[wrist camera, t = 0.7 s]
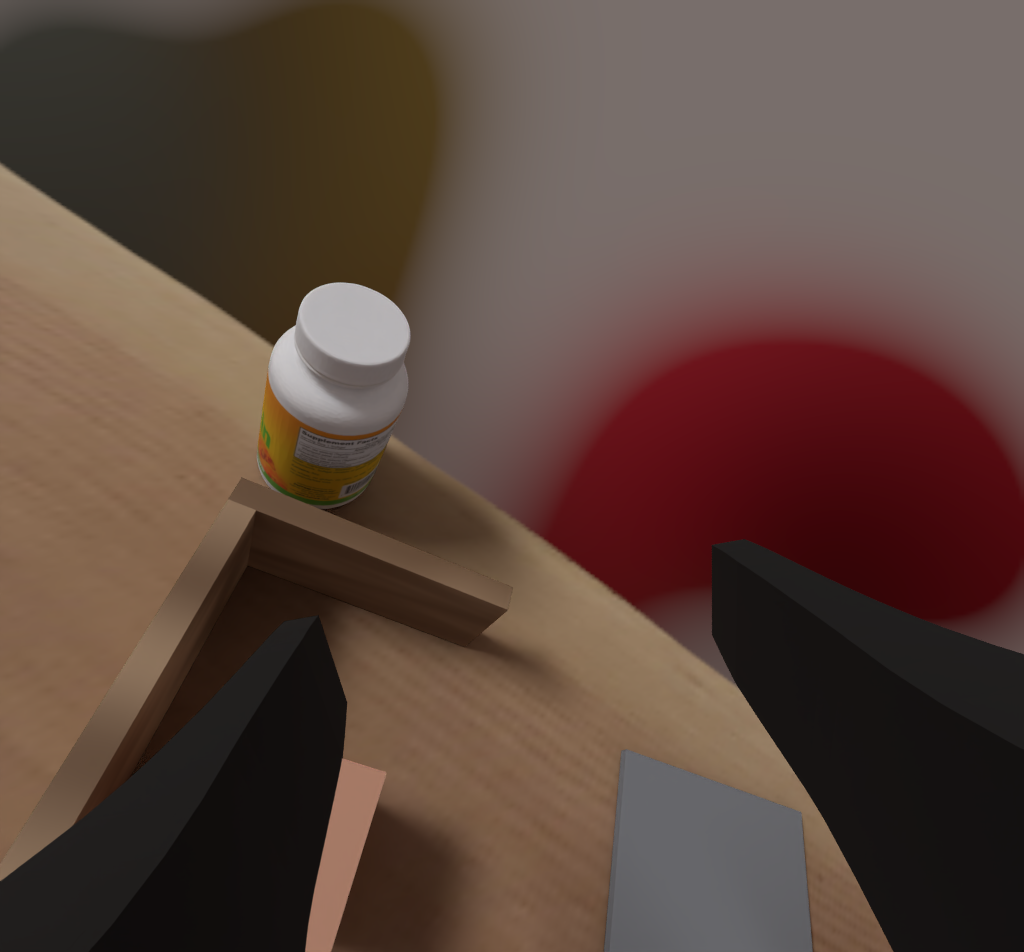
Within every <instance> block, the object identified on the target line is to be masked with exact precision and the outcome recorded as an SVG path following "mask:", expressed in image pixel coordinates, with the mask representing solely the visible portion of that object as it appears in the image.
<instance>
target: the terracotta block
mask: <svg viewBox="0 0 1024 952" xmlns="http://www.w3.org/2000/svg"><path fill="white" fill-rule="evenodd" d="M386 773H387V772H384V771H381V770H377V769H374V768H371V767H368V766H365V765H362V764H359V763H356V762H352V761H349V760H346V759H343V758H342V763H341V768H340V773H339V778H338V783H337V788H336V792H335V797H334V802H333V807H332V811H331V816H330V820H329V825H328V830H327V834H326V839H325V844H324V848H323V853H322V857H321V862H320V867H319V871H318V876H317V881H316V885H315V890H314V895H313V901H312V907H311V912H310V918H309V924H308V932H307V940H306V949H305V951H306V952H331V950H332V947H333V944H334V941H335V938H336V934H337V931H338V928H339V925H340V921H341V918H342V915H343V912H344V909H345V905H346V902H347V899H348V896H349V892H350V889H351V886H352V883H353V880H354V876H355V873H356V870H357V867H358V863H359V860H360V857H361V854H362V851H363V847H364V844H365V841H366V838H367V835H368V831H369V828H370V825H371V822H372V818H373V815H374V812H375V809H376V806H377V802H378V799H379V796H380V793H381V789H382V786H383V783H384V780H385V777H386Z"/></svg>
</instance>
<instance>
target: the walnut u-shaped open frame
mask: <svg viewBox="0 0 1024 952" xmlns="http://www.w3.org/2000/svg"><path fill="white" fill-rule="evenodd" d="M247 565H248V566H250V567H253V568H256V569H258V570H261V571H264V572H266V573H269V574H272V575H274V576H277V577H280V578H282V579H285V580H288V581H290V582H293V583H296V584H298V585H301V586H304V587H306V588H309V589H312V590H314V591H317V592H320V593H322V594H325V595H328V596H330V597H333V598H336V599H338V600H341V601H344V602H346V603H349V604H352V605H354V606H357V607H360V608H362V609H365V610H368V611H370V612H373V613H375V614H378V615H381V616H383V617H386V618H389V619H391V620H394V621H397V622H399V623H402V624H405V625H407V626H410V627H413V628H415V629H418V630H421V631H423V632H426V633H429V634H431V635H434V636H437V637H439V638H442V639H445V640H447V641H450V642H453V643H455V644H458V645H461V646H463V647H465V646H466V645H467V644H469V643H470V642H471V641H472V640H473V639H475V638H476V637H477V636H478V635H479V634H480V633H482V632H483V631H484V630H485V629H486V628H487V627H489V626H490V625H491V624H492V623H493V622H494V621H496V620H497V619H498V618H499V617H500V616H502V615H503V614H504V613H505V612H506V611H507V610H508V608H509V604H510V599H511V595H512V591H513V587H511V586H509V585H506V584H504V583H501V582H499V581H496V580H494V579H491V578H489V577H486V576H484V575H481V574H479V573H477V572H474V571H472V570H469V569H467V568H464V567H462V566H459V565H457V564H454V563H452V562H449V561H447V560H444V559H442V558H439V557H437V556H435V555H432V554H430V553H427V552H425V551H422V550H420V549H417V548H415V547H412V546H410V545H407V544H405V543H402V542H400V541H397V540H395V539H393V538H390V537H388V536H385V535H383V534H380V533H378V532H375V531H373V530H370V529H368V528H365V527H363V526H360V525H358V524H356V523H353V522H351V521H348V520H346V519H343V518H341V517H338V516H336V515H333V514H331V513H328V512H326V511H323V510H321V509H318V508H316V507H314V506H311V505H309V504H306V503H304V502H301V501H299V500H296V499H294V498H291V497H289V496H286V495H284V494H281V493H279V492H276V491H274V490H272V489H269V488H267V487H264V486H262V485H259V484H257V483H254V482H252V481H249V480H247V479H244V478H241V479H240V481H239V483H238V484H237V486H236V487H235V489H234V491H233V492H232V494H231V495H230V497H229V499H228V500H227V502H226V503H225V505H224V507H223V508H222V510H221V511H220V513H219V515H218V516H217V518H216V519H215V521H214V523H213V524H212V526H211V527H210V529H209V531H208V532H207V534H206V535H205V537H204V539H203V540H202V542H201V543H200V545H199V547H198V548H197V550H196V551H195V553H194V555H193V556H192V558H191V559H190V561H189V563H188V564H187V566H186V567H185V569H184V571H183V572H182V574H181V575H180V577H179V579H178V580H177V582H176V583H175V585H174V587H173V588H172V590H171V591H170V593H169V595H168V596H167V598H166V599H165V601H164V603H163V604H162V606H161V607H160V609H159V611H158V612H157V614H156V615H155V617H154V619H153V620H152V622H151V623H150V625H149V627H148V628H147V630H146V631H145V633H144V635H143V636H142V638H141V639H140V641H139V643H138V644H137V646H136V647H135V649H134V651H133V652H132V654H131V655H130V657H129V659H128V660H127V662H126V663H125V665H124V667H123V668H122V670H121V671H120V673H119V675H118V676H117V678H116V679H115V681H114V683H113V684H112V686H111V687H110V689H109V691H108V692H107V694H106V695H105V697H104V699H103V700H102V702H101V703H100V705H99V707H98V708H97V710H96V711H95V713H94V715H93V716H92V718H91V719H90V721H89V723H88V724H87V726H86V727H85V729H84V731H83V732H82V734H81V735H80V737H79V739H78V740H77V742H76V743H75V745H74V747H73V748H72V750H71V751H70V753H69V755H68V756H67V758H66V759H65V761H64V763H63V764H62V766H61V767H60V769H59V771H58V772H57V774H56V775H55V777H54V779H53V780H52V782H51V783H50V785H49V787H48V788H47V790H46V791H45V793H44V795H43V796H42V798H41V799H40V801H39V803H38V804H37V806H36V807H35V809H34V811H33V812H32V814H31V815H30V817H29V819H28V820H27V822H26V823H25V825H24V827H23V828H22V830H21V831H20V833H19V835H18V836H17V838H16V839H15V841H14V843H13V844H12V846H11V847H10V849H9V851H8V852H7V854H6V855H5V857H4V859H3V860H2V862H1V863H0V881H1V880H2V879H4V878H5V877H7V876H8V875H9V874H10V873H12V872H13V871H14V870H16V869H17V868H18V867H20V866H21V865H22V864H24V863H25V862H26V861H27V860H29V859H30V858H31V857H33V856H34V855H35V854H37V853H38V852H39V851H41V850H42V849H43V848H44V847H46V846H47V845H48V844H50V843H51V842H52V841H54V840H55V839H56V838H57V837H59V836H60V835H61V834H63V833H64V832H65V831H67V830H68V829H69V828H71V827H72V826H73V825H74V824H76V823H77V822H78V821H79V820H81V819H82V818H83V817H84V816H86V815H87V814H88V813H89V812H91V811H92V810H93V809H94V808H95V807H96V806H98V805H99V804H100V803H101V802H102V801H103V800H105V799H106V798H107V797H108V796H109V795H111V794H112V793H113V792H114V791H115V790H116V789H118V788H119V787H120V786H121V785H122V784H123V783H125V782H126V781H127V780H128V779H129V778H130V777H131V775H132V773H133V771H134V770H135V768H136V766H137V764H138V762H139V761H140V759H141V757H142V755H143V753H144V751H145V750H146V748H147V746H148V744H149V742H150V741H151V739H152V737H153V735H154V733H155V732H156V730H157V728H158V726H159V724H160V723H161V721H162V719H163V717H164V715H165V714H166V712H167V710H168V708H169V706H170V704H171V703H172V701H173V699H174V697H175V695H176V694H177V692H178V690H179V688H180V686H181V685H182V683H183V681H184V679H185V677H186V676H187V674H188V672H189V670H190V668H191V667H192V665H193V663H194V661H195V659H196V657H197V656H198V654H199V652H200V650H201V648H202V647H203V645H204V643H205V641H206V639H207V638H208V636H209V634H210V632H211V630H212V629H213V627H214V625H215V623H216V621H217V619H218V618H219V616H220V614H221V612H222V610H223V609H224V607H225V605H226V603H227V601H228V600H229V598H230V596H231V594H232V592H233V591H234V589H235V587H236V585H237V583H238V582H239V580H240V578H241V576H242V574H243V572H244V571H245V569H246V567H247Z"/></svg>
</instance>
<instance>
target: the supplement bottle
mask: <svg viewBox="0 0 1024 952" xmlns="http://www.w3.org/2000/svg"><path fill="white" fill-rule="evenodd" d="M409 344H410V328H409V324H408V322H407V320H406V318H405V316H404V315H403V313H402V312H401V311H400V309H399V308H398V307H397V306H396V305H395V304H394V303H393V302H392V301H390V300H389V299H388V298H387V297H385V296H383V295H382V294H380V293H378V292H376V291H374V290H372V289H370V288H367V287H364V286H361V285H357V284H350V283H332V284H326V285H323V286H320V287H318V288H316V289H314V290H312V291H311V292H310V293H309V294H307V296H306V297H305V298H304V300H303V301H302V303H301V305H300V308H299V312H298V318H297V322H296V326H294V327H293V328H291V329H290V330H288V331H287V332H286V333H285V334H283V335H282V337H281V338H280V339H279V340H278V342H277V343H276V345H275V347H274V349H273V351H272V354H271V358H270V362H269V366H268V374H267V381H266V388H265V395H264V402H263V408H262V418H261V425H260V433H259V440H258V449H257V462H258V467H259V470H260V473H261V475H262V477H263V479H264V480H265V482H266V483H267V485H268V486H269V487H270V488H271V489H272V490H274V491H276V492H279V493H281V494H284V495H286V496H289V497H291V498H294V499H296V500H299V501H301V502H304V503H306V504H309V505H311V506H314V507H316V508H318V509H330V508H335V507H339V506H342V505H344V504H347V503H349V502H351V501H353V500H354V499H356V498H357V497H358V496H359V495H360V494H361V493H363V491H364V490H365V489H366V488H367V486H368V485H369V483H370V481H371V479H372V478H373V475H374V473H375V471H376V469H377V466H378V464H379V462H380V459H381V457H382V455H383V452H384V450H385V448H386V446H387V443H388V441H389V438H390V436H391V434H392V432H393V429H394V427H395V425H396V422H397V420H398V418H399V416H400V414H401V411H402V409H403V406H404V403H405V400H406V397H407V393H408V375H407V371H406V367H405V364H404V359H405V355H406V352H407V349H408V346H409Z"/></svg>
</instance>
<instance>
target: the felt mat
mask: <svg viewBox="0 0 1024 952" xmlns="http://www.w3.org/2000/svg"><path fill="white" fill-rule="evenodd" d="M604 952H813V950H812V938H811V925H810V913H809V901H808V889H807V877H806V865H805V853H804V841H803V829H802V816H801V812H799V811H796V810H794V809H791V808H788V807H785V806H783V805H780V804H777V803H774V802H771V801H769V800H766V799H763V798H760V797H758V796H755V795H752V794H749V793H746V792H744V791H741V790H738V789H735V788H732V787H730V786H727V785H724V784H721V783H719V782H716V781H713V780H710V779H707V778H705V777H702V776H699V775H696V774H693V773H691V772H688V771H685V770H682V769H680V768H677V767H674V766H671V765H668V764H666V763H663V762H660V761H657V760H654V759H652V758H649V757H646V756H643V755H641V754H638V753H635V752H632V751H629V750H627V749H626V750H622V751H621V763H620V774H619V786H618V797H617V808H616V820H615V831H614V843H613V854H612V865H611V877H610V888H609V900H608V911H607V922H606V934H605V945H604Z"/></svg>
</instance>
